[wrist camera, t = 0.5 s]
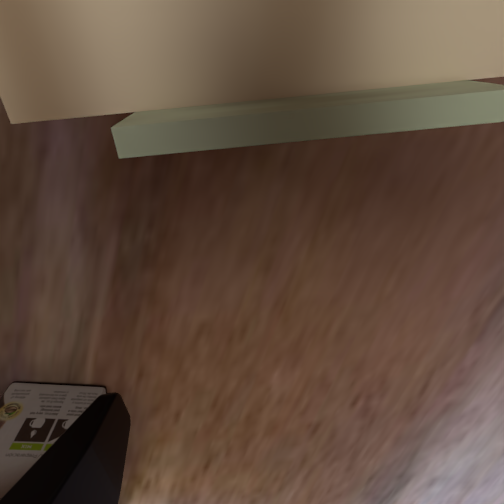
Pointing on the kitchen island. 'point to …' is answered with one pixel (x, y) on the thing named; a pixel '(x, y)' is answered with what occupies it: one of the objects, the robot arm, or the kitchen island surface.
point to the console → (251, 68)
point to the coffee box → (36, 423)
